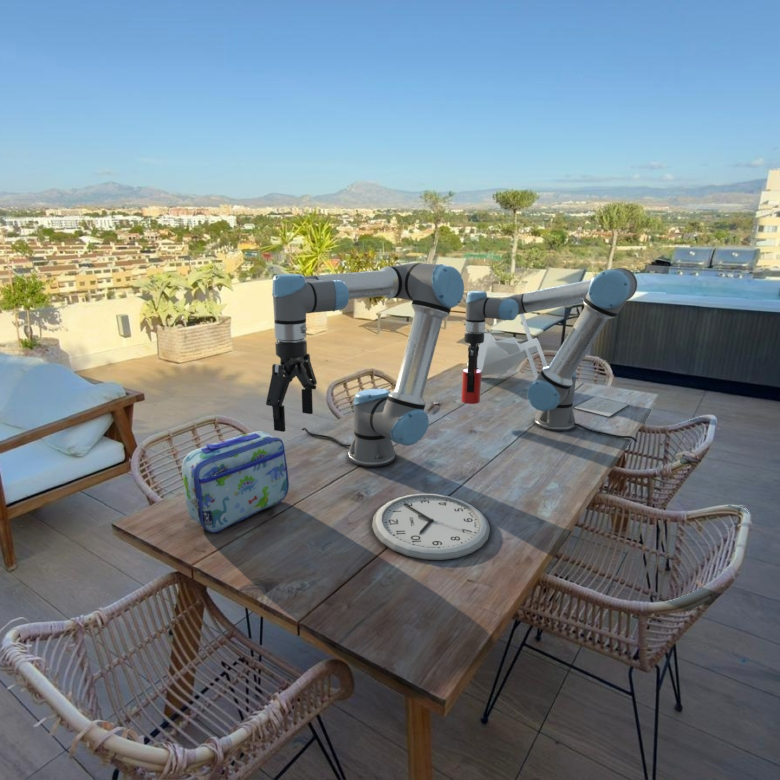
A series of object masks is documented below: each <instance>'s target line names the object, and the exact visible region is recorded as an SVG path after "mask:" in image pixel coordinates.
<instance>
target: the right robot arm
mask: <svg viewBox="0 0 780 780" xmlns="http://www.w3.org/2000/svg"><path fill="white" fill-rule="evenodd" d="M637 289H638V280H637V277H636V275H635V274H634V273H633V272H632V271H631V270H629V269H627V268H623V267H617V268H609V269H606V270H603V271H601V272H599V273H598V274H597V275H594V276H593V278H591V279H587V280H582V281H577V282H571V283H567V284H562V285H558V286H557V285H556V286H553V287H547V288H543V289H538V290H533V291H529V292H528V291H527V292H524V293H520V294H517V293H516V294H513V295H510V296H506V297H502V298H494V297H488V294H487V292H486V291H482V290H471V291H468V292H467V294H466V301H465V319H464V321H465V322H463V326H464V331H465V332H464V339H463V341H464V342H465V343H466V344H470V345H468V348H467V353H468V355H467V358H468V359H467V361H468V362H467V363H468V366H467V369H468V374H466V376H468V379H467V392H473V393H474V383H475V369H479V368H477V357H478V351H479V345H480V343H483V342H484V332H485V331H486V319H493V320H502V321H514V320H516V318H517V316H518V315H520V314H524V315H525V314H528V313H533V312H539V311H545V310H549V309H550V310H551V309H557V308H562V307H568V306H572V305H579V304H583V306H584V307H583V309H582V311H581V312H580V314H579V316H578V318H577V319H576V321H575V323H574V324H573V325H572V327H571V329H570V331H569V332H568V334H567V336H566V337H565V339H564V341H563V342H562V344H561V346H559V347H560V348H559V349H558V350H557V352H556V354H555V356H554V357H553V359H552V361H551V362H550V364H549V365H548V366H546V367H543V368H541V370H540V372H539V374H538V377H537V379H536V380H535V379H534V381H533V382H531V383H530V384H529V386H528V388H527V391H526V397H527V400H528V402H529V404H530V405H531V407H533V408H534V409H535V410H537V411H536V413H535V417H534V424H535V425H536V426H537V427H539V428H542V429H544V430H549V431H556V432H567V431H572V430H574V429H575V428H576V426H577V427H578V428H582V429H583V430H585V431H588V432H591V433H593V434H594V433H595V434H599V435H605V436H609V437H615V438H620V439H631V440H633V441H634V442H636V443H638V440H637V438H635V437H634V436H631V435H619V434H615V433H609V432H604V431H599V430H594V429H591V428H588V427H586V426H583V425H582V424H578V423H576V418H575V417H576V416H575V413H574V407H573V405H574V398H575V390H576V383H577V379H578V378H577V370H578V368H579V367H580V365H581V364H582V362H583V360H584V359H585V357H586V356H587V354H588V352H589V351H590V349H591V348H592V346H593V344H594V343H595V341H596V340H597V338H598V336H599V335H600V334H601V332H602V330H603V329H604V327H605V326H606V324H607V323H608V321H609V320H612V319H614V318H616V317H617V316H618V314H619V313H620V311H621V310H622V308H623V307H624V305H625V303H626V302H627V301H629V300H630V299H631V298H632V297H634V295H635V294H636V292H637V291H638V290H637Z"/></svg>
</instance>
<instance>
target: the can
mask: <svg viewBox="0 0 780 780" xmlns="http://www.w3.org/2000/svg"><path fill="white" fill-rule="evenodd" d="M481 372H482V371H481V370H479V369H475V383H474V393H473V392H467V379H468V376H466V374H468V368H464V369H463V370H462V381H461V384H462V385H461V402H462V403H463V404H468V405H475V404H476V405H477V404H479V403H481V390H482V389H481V387H482V386H481V385H482V376H481Z"/></svg>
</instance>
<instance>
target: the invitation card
mask: <svg viewBox="0 0 780 780" xmlns="http://www.w3.org/2000/svg"><path fill="white" fill-rule="evenodd" d="M628 406H629V404H627V403H623V402H618V401H614V400H609V399H605V398H601V397H596V396H593V397H592V398H590V399H588V400H586V401H584V402H582V403H580V404H578V405H575V406H574V407H573V409H575V410H581V411H584V412H587V413H593V414H596V415H600V416H604V417H608V418H609V417H611V416H613V415H614V414H616V413H617V412H619V411H621V410H623V409H624V408H626V407H628Z"/></svg>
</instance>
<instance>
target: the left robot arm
mask: <svg viewBox="0 0 780 780" xmlns="http://www.w3.org/2000/svg"><path fill="white" fill-rule="evenodd" d="M464 293H465V283H464V279H463V277H462V274H461V272H460V271H459V270H458V269H457V268H456V267H454V266H450V265H446V264H438V263H437V264H436V263H423V262H411V263H403V264H398V265H397V264H396V265H391V266H390V265H389V266H384V267H382V268H381V269H380V270H368V271H358V272H345V273H344V272H343V273H330V274H316V275H305V276H304V274H300V273H281V274H279V273H278V274H276V275H274V276H273V277H272V292H271V295H272V302H273V303H272V305H273V318H274V321H273V322H274V323H273V326H274V328H273V329H274V338H275V339H276V341H275V343H274V345H275V355H276V356H277V357H278V358H279V359H280V362H279V364H276V363H272V366H271V378H270V383H269V388H268V391H267V396H266V401H265V405H266V406H267V407H268V406H269V407H270V406H271V407H272V418H273V431H276V432H281V433H285V432H286V416H285V415H286V414H285V405H284V404H283V403H284V400H285V397H286V394H287V392H288V388H289V386H290V383H291V382H292V381H293V380H294V379H295V378H297V380H298V381H299V383H300V385H301V386H302V387H303V388H301V411H302V414H308V415H313V414H314V413H313V411H314V409H313V390H316V389H317V383H318V382H317V378H316V375H315V372H314V369H313V366H312V363H311V362H312V361H311V355H310V353H308V341H307V340H306V338H307V330H308V328H307V314H313V313H314V314H315V313H325V312H336V311H341V310H344V309H346V307H348V304H349V301H350V300H359V299H368V298H369V299H370V298H375V297H377V298H378V297H383V298H385V299H388V300H389V299H399V300H400V299H402V300H406V301H411V308H412V309H413V311H414V313H413V317H412V322H411V326H410V330H409V333H408V337H407V340H406V345H405V348H404V352H403V356H402V357H403V358H402V360H401V364H400V368H399V371H398V375H397V380H396V383H395V386H394V389H393V390H392V391H390V390H389V389H387V388H369V389H363V390H360V391H358V392H356V393H355V394H354V398H353V434H354V435H353V439H352V441H351V443H350V444H348V443H347V444H346V443H343V442H340V440H338V439H336V438H334V437H332V436H329V435H324V434H317V433H313V432H310V431H309V430H308V429H307V428H306V427H302V428H301V431H305V432H306V434H308V435H310V436H312V437H313V436H314V437H318V438H319V437H320V438H326V439H330V440H332V441H334V442H336V443H337V444H338V445H340V446H342V447H349V449H348V460H349V461H350V462H351V463H352V464H353V465H357V466H359V467H364V468H365V467H366V468H379V467H384V466H387V465H391V464H392V463H393V462H394V461H395V458H396V450H395V447H394V444H393V442H394V443H395V444H400V445H403V446H407V447H409V446H413V445H415V444H416V443H418V442H419V441H420V440H422V438H423V437H424V436H425V434H426V433H427V431H428V428H429V423H430V419H429V416H428V414H427V412H425V407H426V401H425V400H424V398H423V396H424V392H425V388H426V386H427V385H426V384H427V380H428V378H429V373H430V370H431V366H432V361H433V358H434V354H435V350H436V346H437V342H438V340H439V336H440V332H441V329H442V328H441V327H442V324H443V320H444V319H445V318H447V317H449V316H450V314H451V310H452V309H453V308H455V307H457V306H458V305H459V304H460V303H461V302H462V300H463V297H464Z"/></svg>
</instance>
